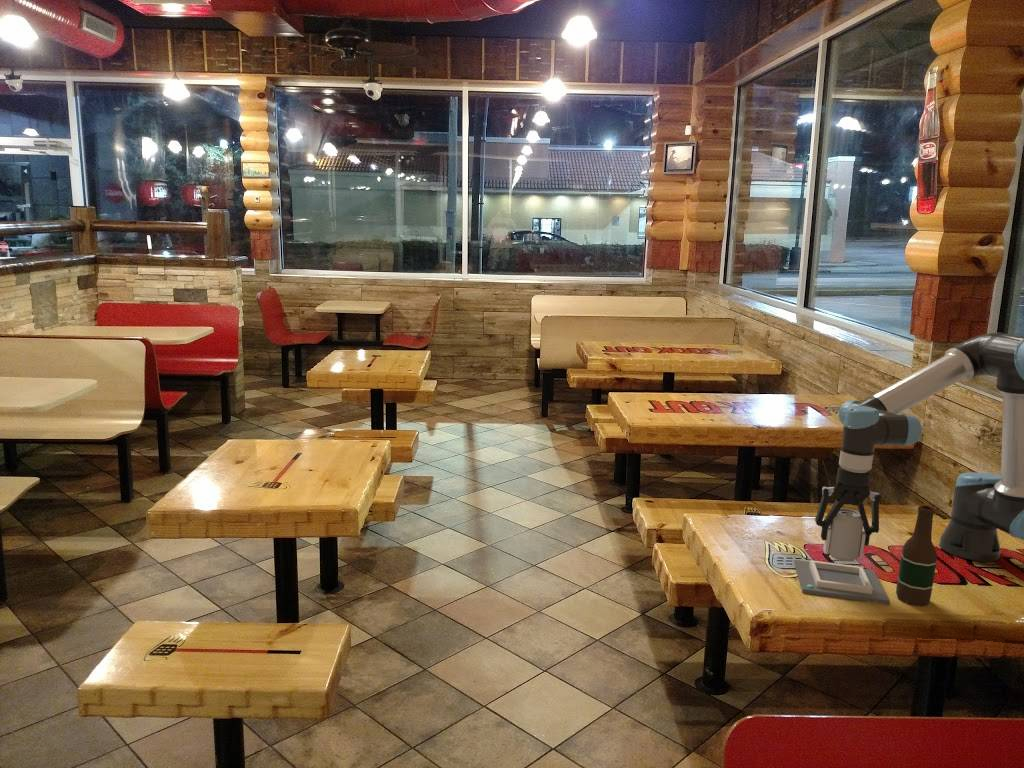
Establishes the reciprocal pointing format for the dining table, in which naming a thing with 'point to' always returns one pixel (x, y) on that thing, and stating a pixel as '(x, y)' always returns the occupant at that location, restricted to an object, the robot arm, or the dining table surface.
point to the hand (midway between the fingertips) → (842, 554)
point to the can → (846, 535)
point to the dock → (840, 581)
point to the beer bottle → (918, 562)
